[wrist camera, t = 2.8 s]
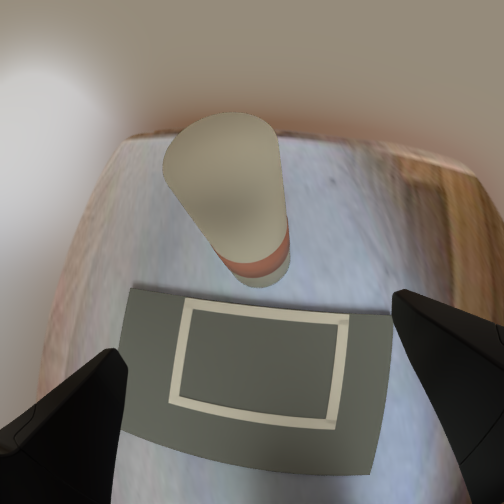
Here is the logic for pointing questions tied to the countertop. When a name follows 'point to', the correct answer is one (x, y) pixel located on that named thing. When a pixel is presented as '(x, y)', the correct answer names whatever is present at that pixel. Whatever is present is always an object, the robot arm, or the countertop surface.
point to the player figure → (234, 192)
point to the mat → (256, 382)
